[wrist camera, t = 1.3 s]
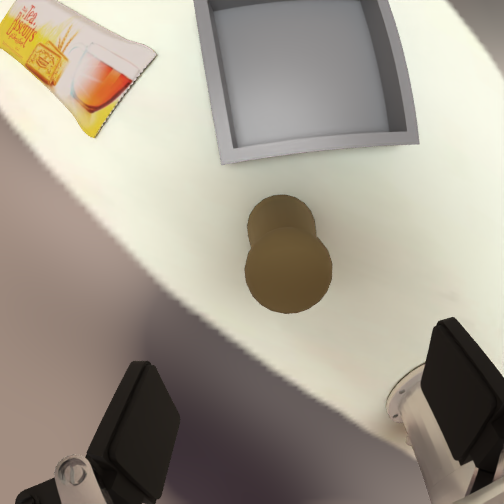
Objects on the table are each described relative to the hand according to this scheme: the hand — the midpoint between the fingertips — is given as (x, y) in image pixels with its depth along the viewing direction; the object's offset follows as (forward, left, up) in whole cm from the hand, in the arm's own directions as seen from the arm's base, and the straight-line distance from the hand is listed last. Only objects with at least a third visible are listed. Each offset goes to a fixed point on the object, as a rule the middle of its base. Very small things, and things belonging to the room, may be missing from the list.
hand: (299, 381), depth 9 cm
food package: (+25, +20, -19) cm, 38 cm away
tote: (+14, -4, -19) cm, 23 cm away
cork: (0, 0, -19) cm, 19 cm away
